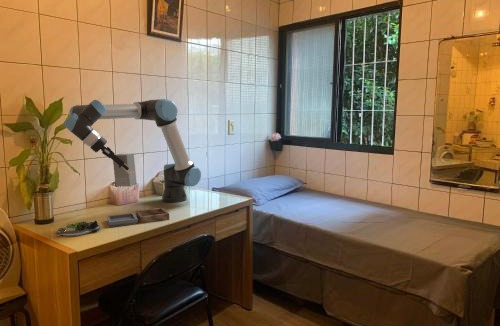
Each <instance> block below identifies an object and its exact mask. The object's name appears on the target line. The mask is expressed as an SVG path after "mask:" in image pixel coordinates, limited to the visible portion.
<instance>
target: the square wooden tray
mask: <svg viewBox="0 0 500 326" xmlns="http://www.w3.org/2000/svg"><path fill="white" fill-rule="evenodd" d="M135 216H136V217H137V218H138V222H140V224H144V223H152V222H153V223H154V222H160V221H167V220H168V221H169V220H170V213H169V212H168V211H167V210H166V209H165V208H164V207H158V208H156V207H155V208H149V209H140V210H135Z"/></svg>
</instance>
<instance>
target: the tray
mask: <svg viewBox="0 0 500 326" xmlns="http://www.w3.org/2000/svg"><path fill="white" fill-rule="evenodd" d="M106 222H107V225H108V226H109V228H116V227H123V226H125V227H126V226H130V225H138V224H139V220H138V218H137V217H136V213H134V212H130V213H129V212H128V213H121V214H119V213H118V214H113V215H107V216H106Z"/></svg>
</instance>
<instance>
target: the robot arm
mask: <svg viewBox="0 0 500 326" xmlns="http://www.w3.org/2000/svg"><path fill="white" fill-rule="evenodd" d="M178 112H179V111H178V106H177V105H176V103H174V101H173V100H170V99H166V98H161V99H149V100H144V101H134V102H133V103H127V104H126V103H125V104H124V103H121V104H117V103H116V104H115V103H114V104H103V102H102V101H100V100H99V99H93V100H91V102H89V103H88V104H79V105H78V104H76V105H73V106H71V108H70V109H69V112H68V114H69V117H68V118H67V119H65V121H64V122H63V126H64V127H65V128H66V129H67V130H68V131H69V132H70V133H72V134H73V135H74V136H75V137H76V138H78V139H79V140H80V141H82V144H83V145H86V146H87V147H90V150H92V151H93V152H94V153H98V152H100V150H101V154H102V155H104V156H105V157H107V158H109V159H111V160H112V161H113V160H114V161H115V162H116V163H117V164H118V165H119V168H120V167H121V168H122V169H124V170H125V171H126V172H127V173H128V174H130V175H131V176H132V175H133V173H134V172H136V170H135V171H134V170H133V169H131V168H130V167H129V166H128V165H127V164H126V163H124V162H123V161H122V160H121V159H119V158H118V157H117V156H116V155H117V154H115V152H114V151H113V150H112V149H111V148H110V147H109V146H107V147H106V146H105V145H106V144H107V143H108V141H107V140H106V138H104V137H103V136H101V134H100V133H99V132H98V131H96V130H95V129H94V128H93V127H92V126H93V125H94V124H95V123H96V122H97V121H98V120H116V119H117V120H118V119H133V118H134V119H135V120H144V121H145V120H147V121H154V122H155V124H156V126H157V127H158V128H160V129H161V132H162V134H163V137H164V140H165V141H166V145H167V147H168V149H169V152H170V154H171V157H172V159H173V161H174V162H173V163H169V164H167V163H166V164H165V165H163V181H164V182H163V183H164V184H163V185H164V188H163V192H162V197H161V200H162V202H164V203H179V202H180V203H181V202H185V201H186V200H188V198H187V197H188V196H187V193H186V191H185V186H186V187H195V186H197V185H198V184H199V183H200V181H201V178H202V171H201V170H200V168H199V167H197V166H195V164H194V162H193V160H191V159H190V158H189V155H188V153H187V150H186V147H185V145H184V141H183V139H182V137H181V134H180V131H179V129H178V126H177V123H176V122H177V121H178V119H177V118H178V117H177V116H178ZM120 162H121V163H120ZM119 163H120V164H119Z"/></svg>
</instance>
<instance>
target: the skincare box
mask: <svg viewBox="0 0 500 326" xmlns="http://www.w3.org/2000/svg"><path fill="white" fill-rule="evenodd" d="M115 155H116V156H117V157H118V158H119V159H121V160H122V161H123V162H124V163H126V164H127V165H128V166H129V167H130V168H131V169H133V170H134V171H135V172H134V173H133V175H132V176H131V175H130V174H128V173H127V172H126V171H125V170H124V169H122V168H121V167H120V168H119V165H118V164H117V163H116V162H115V161H114V160H112V163H113V165H112V166H113V174H114V181H115V182H114V183H115V187H132V186H136V185H137V174H136V164H135V156H134V155H135V154H134V153H118V154H117V153H116V154H115ZM120 163H121V162H120ZM120 163H119V164H120Z"/></svg>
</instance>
